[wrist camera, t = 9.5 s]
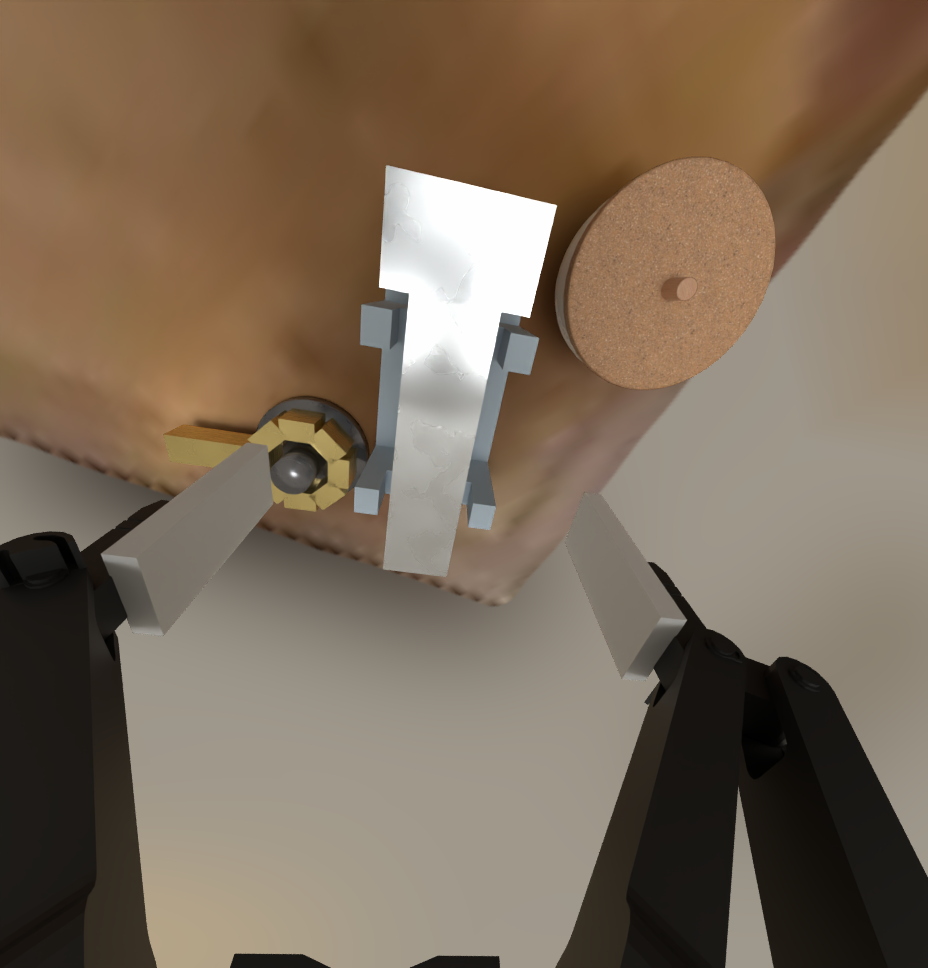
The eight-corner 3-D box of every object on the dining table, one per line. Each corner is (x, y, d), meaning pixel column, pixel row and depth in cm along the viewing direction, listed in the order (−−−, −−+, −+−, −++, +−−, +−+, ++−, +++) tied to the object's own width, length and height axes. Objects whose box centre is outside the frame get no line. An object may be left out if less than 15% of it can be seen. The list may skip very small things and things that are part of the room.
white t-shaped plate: (402, 193, 19) (386, 165, 15) (533, 224, 20) (556, 205, 15) (376, 524, 29) (362, 566, 25) (464, 536, 30) (466, 579, 25)
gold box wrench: (358, 418, 28) (349, 429, 26) (355, 499, 32) (347, 515, 30) (178, 389, 27) (152, 399, 25) (196, 477, 31) (175, 493, 28)
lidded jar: (571, 391, 29) (617, 432, 21) (512, 257, 25) (541, 241, 16) (705, 317, 27) (816, 330, 19) (666, 153, 22) (791, 74, 14)
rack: (388, 284, 25) (362, 282, 18) (520, 310, 26) (544, 318, 19) (375, 472, 32) (353, 523, 25) (480, 487, 33) (487, 541, 26)
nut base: (256, 387, 28) (215, 408, 24) (371, 406, 29) (354, 429, 25) (265, 486, 33) (233, 520, 28) (366, 499, 34) (351, 535, 29)
